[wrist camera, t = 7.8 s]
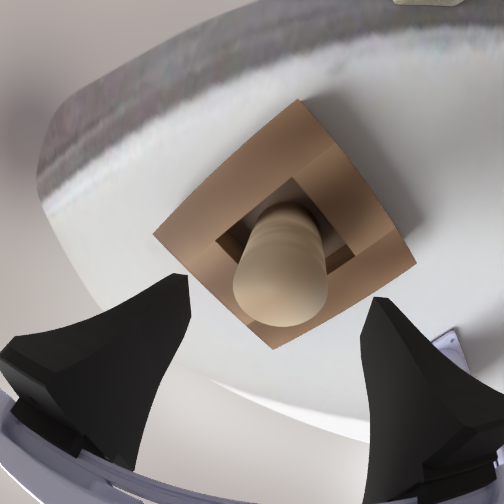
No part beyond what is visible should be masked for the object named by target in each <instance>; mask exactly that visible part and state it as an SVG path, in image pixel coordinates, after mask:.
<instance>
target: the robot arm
mask: <svg viewBox="0 0 504 504" xmlns="http://www.w3.org/2000/svg"><path fill="white" fill-rule="evenodd" d="M190 319H191V307H190V297H189V286H188V275H182V274H176V273H173V274H171V275H169V276H167V277H165V278H164V279H162V280H160V281H159V282H157V283H155V284H154V285H152V286H151V287H149V288H147V289H146V290H144V291H142V292H141V293H139V294H137V295H136V296H134V297H132V298H130V299H128V300H127V301H125V302H123V303H121V304H119V305H117V306H116V307H114V308H112V309H110V310H108V311H106V312H103V313H101V314H99V315H96V316H94V317H92V318H89V319H87V320H84V321H81V322H78V323H75V324H72V325H69V326H66V327H63V328H59V329H55V330H51V331H47V332H42V333H36V334H29V335H22V336H15V337H14V338H13V339H12V340H11V341H10V342H9V343H8V344H7V345H6V347H5V348H4V349H3V350H2V351H1V352H0V371H1V372H2V374H3V376H4V377H5V378H6V380H7V381H8V383H9V384H10V385H11V387H12V388H13V389H14V391H15V392H16V393H17V395H18V396H19V397H20V398H19V399H18V400H17V402H15V401H14V400H13V399H12V398H11V397H10V396H9V395H8V394H6V393H5V392H4V391H3V390H1V389H0V466H1V467H2V468H3V469H4V470H5V471H6V472H7V473H8V474H9V475H10V476H11V477H12V478H13V479H14V480H15V481H16V482H17V483H18V484H19V485H20V486H22V487H23V488H24V489H25V490H26V491H27V492H28V493H29V494H31V495H32V496H33V497H34V498H35V499H37V500H38V501H39V502H40V503H41V504H144V503H143V502H142V501H141V500H138V499H136V498H134V497H132V496H130V495H128V494H125V493H123V492H121V491H119V490H117V489H115V488H114V487H113V486H115V487H118V488H120V489H122V490H124V491H127V492H129V493H132V494H134V495H137V496H139V497H142V498H144V499H147V500H150V501H153V502H156V503H159V504H257V503H249V502H242V501H235V500H230V499H224V498H219V497H214V496H210V495H206V494H201V493H197V492H193V491H189V490H186V489H182V488H178V487H174V486H172V485H168V484H165V483H162V482H159V481H156V480H153V479H150V478H148V477H144V476H142V475H139V474H136V473H134V472H133V471H134V470H135V464H136V460H137V455H138V451H139V446H140V442H141V439H142V435H143V431H144V428H145V424H146V421H147V418H148V415H149V412H150V409H151V406H152V403H153V400H154V398H155V395H156V392H157V389H158V387H159V385H160V382H161V380H162V378H163V376H164V374H165V372H166V370H167V368H168V367H169V365H170V363H171V361H172V359H173V357H174V355H175V353H176V351H177V349H178V347H179V346H180V344H181V342H182V340H183V338H184V335H185V333H186V330H187V327H188V324H189V322H190ZM360 347H361V360H362V366H363V372H364V377H365V383H366V389H367V395H368V401H369V410H370V452H369V464H368V474H367V481H366V487H365V493H364V498H363V503H362V504H504V394H502V393H500V392H498V391H496V390H494V389H492V388H491V387H489V386H487V385H485V384H484V383H482V382H480V381H479V380H477V379H476V378H474V377H473V376H471V374H470V371H469V368H468V365H467V362H466V359H465V356H464V354H463V351H462V348H461V346H460V343H459V340H458V338H457V335H456V333H455V331H450V332H448V333H446V334H445V335H443V336H442V337H440V338H439V339H437V340H436V341H434V342H432V343H431V342H430V341H429V340H428V339H427V338H426V337H425V336H424V335H423V334H422V333H421V332H420V331H419V330H418V329H417V328H416V327H415V326H414V325H413V324H412V322H411V321H410V320H409V319H408V318H407V317H406V316H405V315H404V314H403V313H402V312H401V311H400V309H399V308H398V307H397V306H396V305H395V304H394V303H393V302H392V301H391V300H390V299H389V298H383V297H373V300H372V303H371V306H370V309H369V312H368V315H367V318H366V321H365V324H364V327H363V329H362V332H361V335H360ZM112 485H113V486H112Z"/></svg>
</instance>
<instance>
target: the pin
mask: <svg viewBox="0 0 504 504" xmlns="http://www.w3.org/2000/svg"><path fill="white" fill-rule="evenodd" d="M233 292H234V296H235V298H236V301H237V302H238V304H239V306H240V307H241V308H242V310H243V311H244V312H245V313H246V314H248V315H249V316H250V317H252V318H253V319H255V320H257V321H259V322H261V323H264V324H267V325H271V326H277V327H288V326H294V325H298V324H301V323H304V322H306V321H308V320H309V319H311V318H313V317H314V316H315V315H316V314H317V313H318V312H319V311H320V310H321V309H322V307H323V306H324V304H325V302H326V299H327V295H328V280H327V273H326V265H325V258H324V251H323V245H322V238H321V232H320V227H319V224H318V221H317V219H316V217H315V216H314V215H313V214H312V213H311V211H309V210H308V209H307V208H305V207H304V206H302V205H299V204H296V203H291V202H281V203H277V204H274V205H272V206H270V207H268V208H267V209H265V210H264V211H263V212H262V213H261V214H260V215H259V217H258V219H257V221H256V223H255V226H254V228H253V230H252V233H251V235H250V238H249V240H248V243H247V245H246V248H245V250H244V252H243V255H242V257H241V260H240V262H239V265H238V267H237V270H236V272H235V275H234V278H233Z"/></svg>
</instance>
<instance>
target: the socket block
mask: <svg viewBox="0 0 504 504" xmlns="http://www.w3.org/2000/svg"><path fill="white" fill-rule="evenodd" d="M281 202H291V203H296V204H299V205H302V206H304V207H305V208H307V209H308V210H309V211H311V213H312V214H313V215H314V216H315V217H316V219H317V221H318V224H319V227H320V232H321V238H322V245H323V251H324V258H325V265H326V273H327V280H328V295H327V299H326V302H325V304H324V306H323V307H322V309H321V310H320V311H319V312H318V313H317V314H316V315H315V316H314V317H313V318H311V319H309V320H308V321H306V322H304V323H301V324H298V325H294V326H288V327H277V326H271V325H267V324H264V323H261V322H259V321H257V320H255V319H253V318H252V317H250V316H249V315H248V314H246V313H245V312H244V311H243V310H242V308H241V307H240V306H239V304H238V302H237V301H236V298H235V296H234V292H233V278H234V275H235V272H236V270H237V267H238V265H239V262H240V260H241V257H242V255H243V252H244V250H245V248H246V245H247V243H248V240H249V238H250V235H251V233H252V230H253V228H254V226H255V223H256V221H257V219H258V217H259V215H260V214H261V213H262V212H263V211H264V210H265V209H267V208H268V207H270V206H272V205H274V204H277V203H281ZM153 235H154V236H155V237H156V238H157V239H158V240H159V242H160V243H161V244H162V245H163V246H164V247H165V248H166V249H167V250H168V251H169V252H170V253H171V254H172V255H173V256H174V257H175V258H176V259H177V260H178V261H179V262H180V263H181V264H182V265H183V266H184V267H185V268H186V269H187V270H188V271H189V272H190V273H191V274H192V275H193V276H194V277H195V278H196V279H197V280H198V281H199V282H200V283H201V284H202V285H203V286H204V287H205V288H206V289H207V290H209V291H210V292H211V293H212V294H213V295H214V296H215V297H216V298H217V299H218V300H219V301H220V302H221V303H222V304H223V305H224V306H225V307H226V308H227V309H229V310H230V311H231V312H232V313H233V314H234V315H235V316H236V317H237V318H238V319H239V320H240V321H241V322H243V323H244V324H245V325H246V326H247V327H248V328H249V329H250V330H251V331H252V332H254V333H255V334H256V335H257V336H258V337H259V338H260V339H261V340H262V341H264V342H265V343H266V344H267V345H268V346H269V347H270V348H271V349H273V350H274V349H276V348H278V347H280V346H282V345H283V344H285V343H287V342H289V341H291V340H293V339H295V338H297V337H299V336H301V335H302V334H304V333H306V332H308V331H310V330H312V329H313V328H315V327H317V326H319V325H320V324H322V323H324V322H326V321H327V320H329V319H331V318H333V317H334V316H336V315H338V314H339V313H341V312H343V311H345V310H346V309H348V308H350V307H351V306H353V305H354V304H356V303H358V302H359V301H361V300H363V299H364V298H366V297H367V296H369V295H371V294H372V293H374V292H375V291H377V290H378V289H380V288H381V287H383V286H384V285H386V284H388V283H389V282H391V281H392V280H394V279H395V278H397V277H398V276H399V275H401V274H402V273H404V272H405V271H407V270H408V269H410V268H411V267H412V266H414V265H415V264H417V262H416V261H415V259H414V257H413V255H412V253H411V252H410V250H409V248H408V247H407V245H406V243H405V241H404V240H403V238H402V236H401V235H400V233H399V232H398V230H397V228H396V227H395V225H394V224H393V222H392V220H391V219H390V217H389V216H388V214H387V213H386V211H385V210H384V208H383V206H382V205H381V203H380V202H379V201H378V199H377V198H376V196H375V195H374V193H373V192H372V190H371V189H370V187H369V186H368V185H367V183H366V182H365V180H364V179H363V178H362V176H361V175H360V174H359V172H358V171H357V169H356V168H355V167H354V165H353V164H352V163H351V161H350V160H349V159H348V158H347V156H346V155H345V154H344V152H343V151H342V150H341V149H340V147H339V146H338V145H337V144H336V142H335V141H334V140H333V139H332V137H331V136H330V135H329V134H328V133H327V131H326V130H325V129H324V128H323V127H322V125H321V124H320V123H319V122H318V121H317V120H316V118H315V117H314V116H313V115H312V114H311V113H310V112H309V110H308V109H307V108H306V107H305V106H304V105H303V104H302V103H301V102H300V101H299V99H297V100H296V101H294V102H293V103H292V104H291V105H289V106H288V107H287V108H286V109H284V110H283V111H282V112H281V113H280V114H278V115H277V116H276V117H275V118H274V119H272V120H271V121H270V122H269V123H268V124H266V125H265V126H264V127H263V128H262V129H261V130H259V131H258V132H257V133H256V134H255V135H254V136H253V137H251V138H250V139H249V140H248V141H247V142H246V143H245V144H243V145H242V146H241V147H240V148H239V149H238V150H237V151H236V152H235V153H234V154H232V155H231V156H230V157H229V158H228V159H227V160H226V161H225V162H224V163H223V164H222V165H221V166H219V167H218V168H217V169H216V170H215V171H214V172H213V173H212V174H211V175H210V176H209V177H208V178H207V179H206V180H205V181H204V182H203V183H202V184H201V185H200V186H199V187H198V188H197V189H196V190H195V191H194V192H193V193H192V194H191V195H190V196H189V197H188V198H187V199H186V200H185V201H184V202H183V203H182V204H181V205H180V206H179V207H178V208H177V209H176V210H175V211H174V212H173V213H172V214H171V215H170V216H169V217H168V218H167V219H166V220H165V221H164V222H163V223H162V224H161V226H160V227H159V228H158V229H157V230H156V231H155V232H154V233H153Z"/></svg>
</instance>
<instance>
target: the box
mask: <svg viewBox="0 0 504 504" xmlns="http://www.w3.org/2000/svg"><path fill="white" fill-rule="evenodd" d="M462 1H464V0H393V2H394V3H395V4H399V5H438V6H456V5H457V4H459V3H461V2H462Z"/></svg>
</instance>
